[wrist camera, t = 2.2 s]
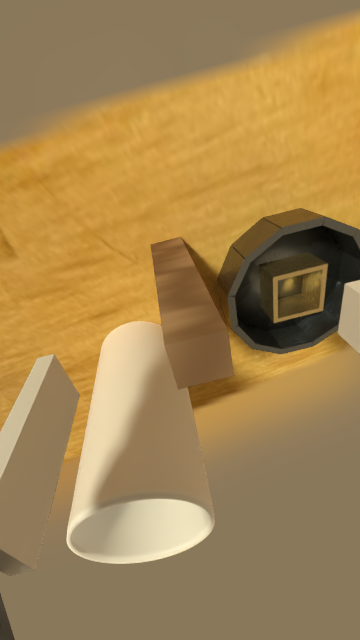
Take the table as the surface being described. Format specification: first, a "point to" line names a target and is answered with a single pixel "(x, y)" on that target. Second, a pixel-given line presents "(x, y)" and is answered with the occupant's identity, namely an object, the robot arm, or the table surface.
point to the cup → (139, 458)
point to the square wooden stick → (189, 318)
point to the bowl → (288, 280)
